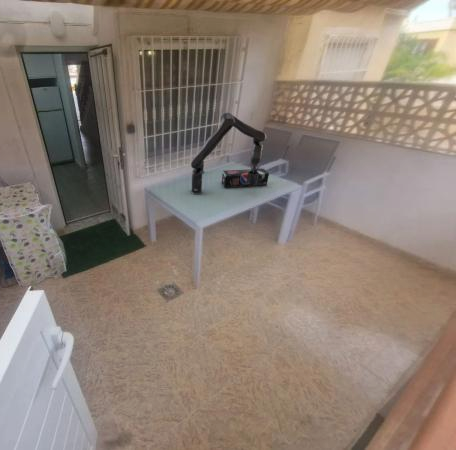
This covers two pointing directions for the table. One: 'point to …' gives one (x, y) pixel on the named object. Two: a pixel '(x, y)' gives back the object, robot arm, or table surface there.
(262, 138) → the robot arm
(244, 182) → the soda box
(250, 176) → the mug
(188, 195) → the table surface
